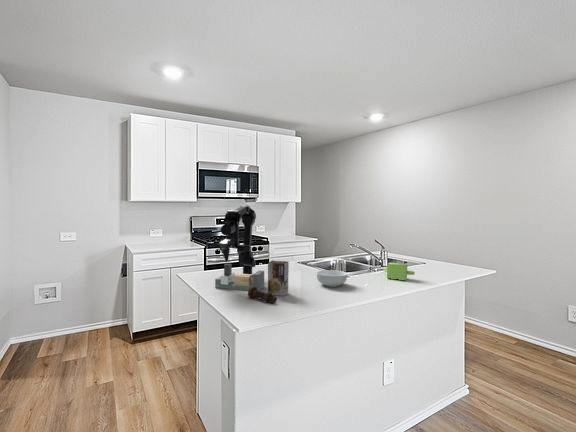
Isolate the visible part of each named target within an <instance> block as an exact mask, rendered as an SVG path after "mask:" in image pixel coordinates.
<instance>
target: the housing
mask: <svg viewBox="0 0 576 432" xmlns="http://www.w3.org/2000/svg"><path fill="white" fill-rule="evenodd" d="M252 274H253V273H252ZM252 274H243V273H236V274H235V276H234V285H237V286H250V285H251V284H252V283H253V276H252Z"/></svg>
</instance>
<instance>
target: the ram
mask: <svg viewBox="0 0 576 432" xmlns="http://www.w3.org/2000/svg"><path fill="white" fill-rule="evenodd" d="M232 267H233V266H232V263H224V265H223V274H222V275H220V276H221V284H223V285H229V284H230V283H232V282H234V276H235V275H236V273H235V272H233V271H232Z"/></svg>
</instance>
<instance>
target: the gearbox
mask: <svg viewBox="0 0 576 432" xmlns="http://www.w3.org/2000/svg"><path fill="white" fill-rule="evenodd" d="M408 266H409V265H408V264H407V263H400V262H388V263H387V267H383V272H386V279H387V278H391V279H390V280H393V279H399V280H398V281H400V280H407V279H406V278H408V276H409V275H410V276H412V275H413V276H414V275H415V274H416V273H415V271H414V270H408Z"/></svg>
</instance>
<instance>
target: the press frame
mask: <svg viewBox="0 0 576 432" xmlns="http://www.w3.org/2000/svg"><path fill="white" fill-rule="evenodd" d="M252 274H253V276H252V284H251V285H250V286H237V285H234V282H232V283H230V284H229V285H223V284H221V275H220V276H219V277H217V278H215V279H214V282H215V283H214V284H215V285H214V287H215V288H217V289H218V288H219V289H228V290H241V291H249V289H250V288H251V287H256V288H257V290H258V291H261V289H263V288H264V287H265V270H257V271H255V272H254V273H252Z"/></svg>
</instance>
